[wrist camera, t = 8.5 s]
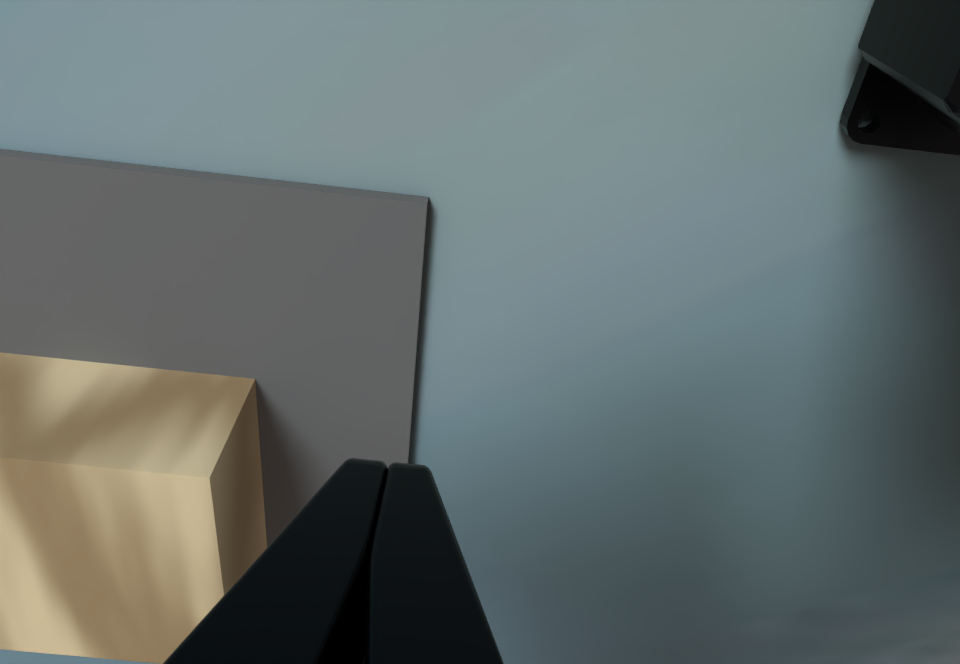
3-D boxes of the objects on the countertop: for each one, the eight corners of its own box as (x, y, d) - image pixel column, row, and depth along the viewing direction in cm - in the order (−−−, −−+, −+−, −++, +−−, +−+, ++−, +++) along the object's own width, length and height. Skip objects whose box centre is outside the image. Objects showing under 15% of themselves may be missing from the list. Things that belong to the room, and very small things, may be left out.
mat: (428, 197, 19) (427, 203, 19) (393, 666, 30) (391, 675, 30) (-187, 128, 18) (-200, 133, 18) (7, 631, 29) (1, 640, 29)
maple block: (209, 477, 18) (-213, 436, 18) (233, 669, 23) (-106, 639, 22) (255, 378, 22) (-101, 341, 21) (268, 563, 26) (-27, 535, 26)
